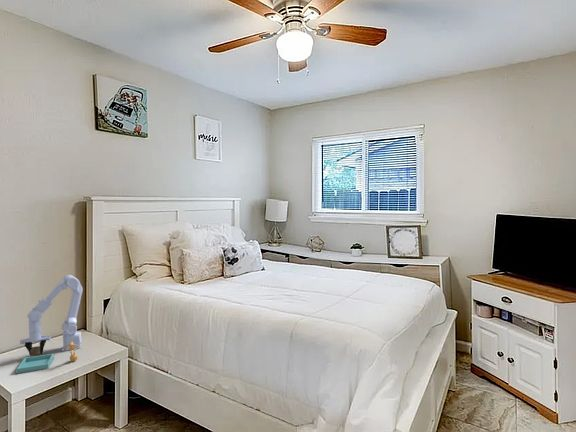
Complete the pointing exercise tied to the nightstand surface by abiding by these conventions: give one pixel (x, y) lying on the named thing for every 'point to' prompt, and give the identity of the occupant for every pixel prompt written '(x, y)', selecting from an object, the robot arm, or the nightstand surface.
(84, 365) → the nightstand surface
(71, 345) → the figurine
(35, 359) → the teal tray
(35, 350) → the walnut block
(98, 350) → the nightstand surface
